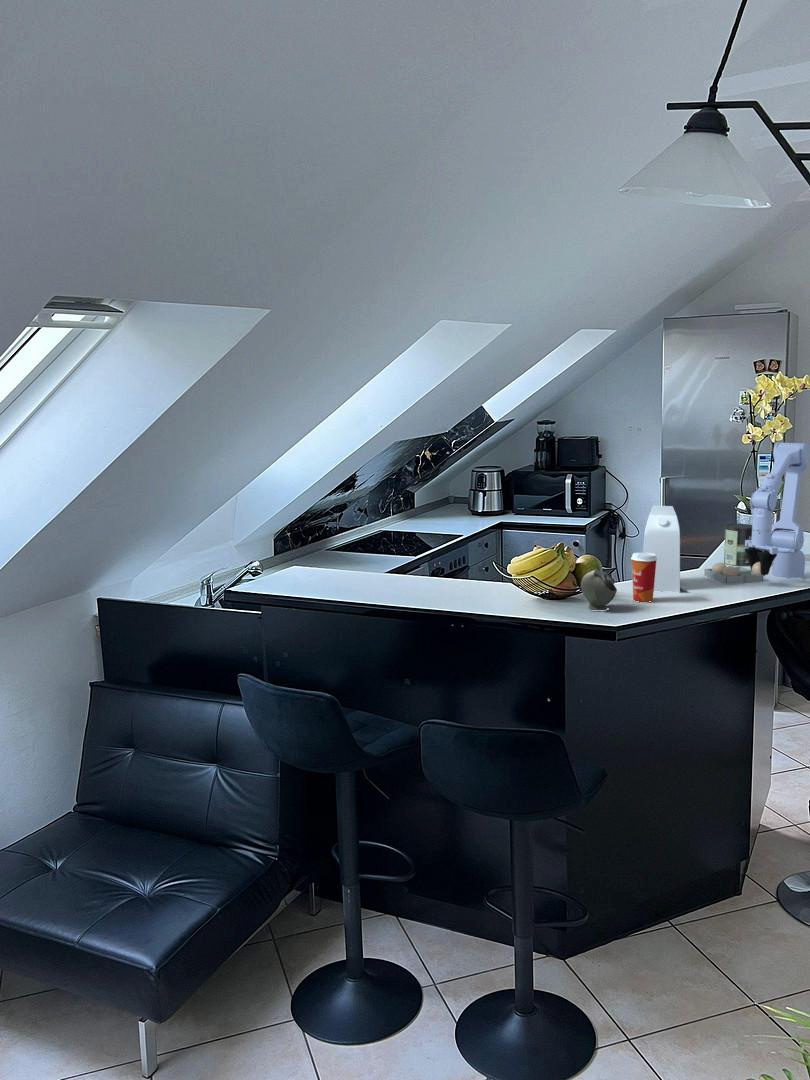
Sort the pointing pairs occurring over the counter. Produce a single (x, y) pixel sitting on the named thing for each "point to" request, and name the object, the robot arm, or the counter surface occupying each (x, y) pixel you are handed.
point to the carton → (742, 577)
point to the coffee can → (737, 544)
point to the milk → (664, 547)
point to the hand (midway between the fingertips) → (759, 572)
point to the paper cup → (643, 576)
